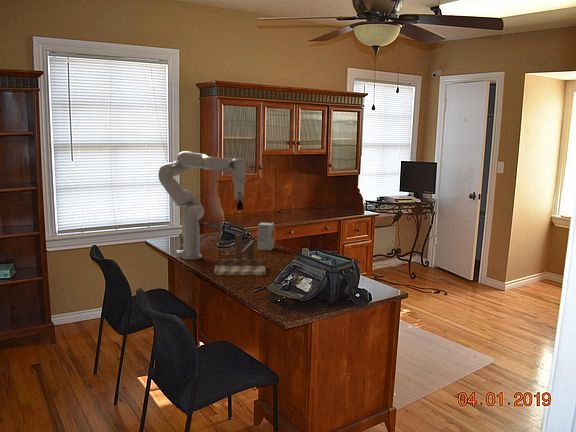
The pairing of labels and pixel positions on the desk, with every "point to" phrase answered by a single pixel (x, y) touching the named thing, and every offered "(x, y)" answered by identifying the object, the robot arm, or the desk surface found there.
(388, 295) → the desk surface
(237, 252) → the wooden block
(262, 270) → the marking board
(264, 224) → the supplement box
